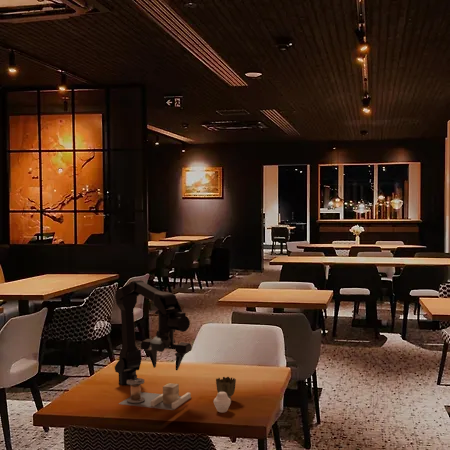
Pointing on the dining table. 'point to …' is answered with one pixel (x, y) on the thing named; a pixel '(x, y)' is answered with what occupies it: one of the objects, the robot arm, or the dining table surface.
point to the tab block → (170, 393)
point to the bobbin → (135, 391)
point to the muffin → (222, 402)
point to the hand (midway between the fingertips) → (165, 368)
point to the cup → (226, 385)
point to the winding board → (159, 401)
